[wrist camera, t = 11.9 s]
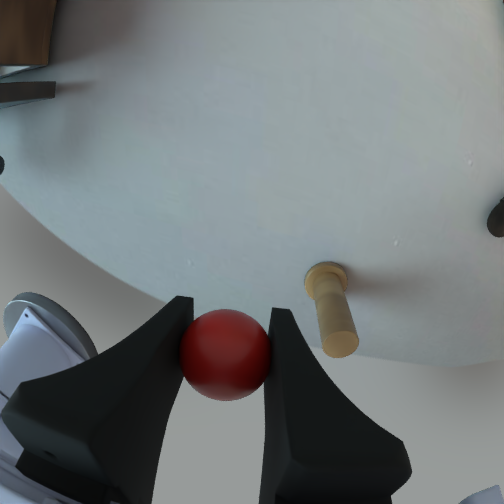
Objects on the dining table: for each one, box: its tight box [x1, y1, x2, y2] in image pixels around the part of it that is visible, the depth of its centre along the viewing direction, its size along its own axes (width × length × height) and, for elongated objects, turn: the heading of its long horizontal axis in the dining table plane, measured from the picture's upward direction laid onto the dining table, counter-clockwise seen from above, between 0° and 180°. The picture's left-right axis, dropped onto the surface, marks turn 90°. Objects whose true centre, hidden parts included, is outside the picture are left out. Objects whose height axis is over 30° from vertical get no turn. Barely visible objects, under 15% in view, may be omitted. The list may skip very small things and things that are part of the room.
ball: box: [179, 309, 271, 401], centre depth 10 cm, size 3×3×3 cm
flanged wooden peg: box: [304, 262, 359, 358], centre depth 19 cm, size 3×3×7 cm
